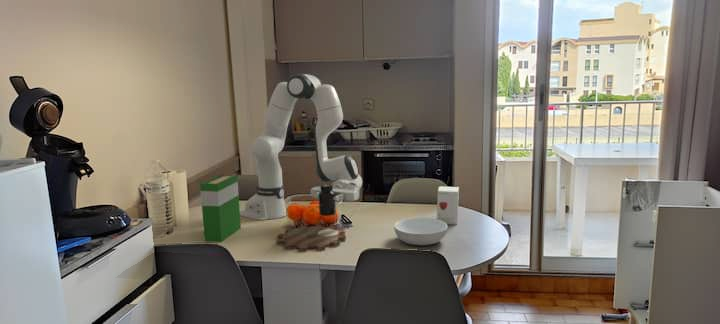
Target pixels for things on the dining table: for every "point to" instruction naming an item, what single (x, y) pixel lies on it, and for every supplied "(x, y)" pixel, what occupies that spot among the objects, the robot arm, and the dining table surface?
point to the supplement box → (448, 204)
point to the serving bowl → (420, 230)
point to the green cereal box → (220, 207)
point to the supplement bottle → (327, 200)
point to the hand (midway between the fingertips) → (326, 198)
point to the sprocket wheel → (311, 238)
